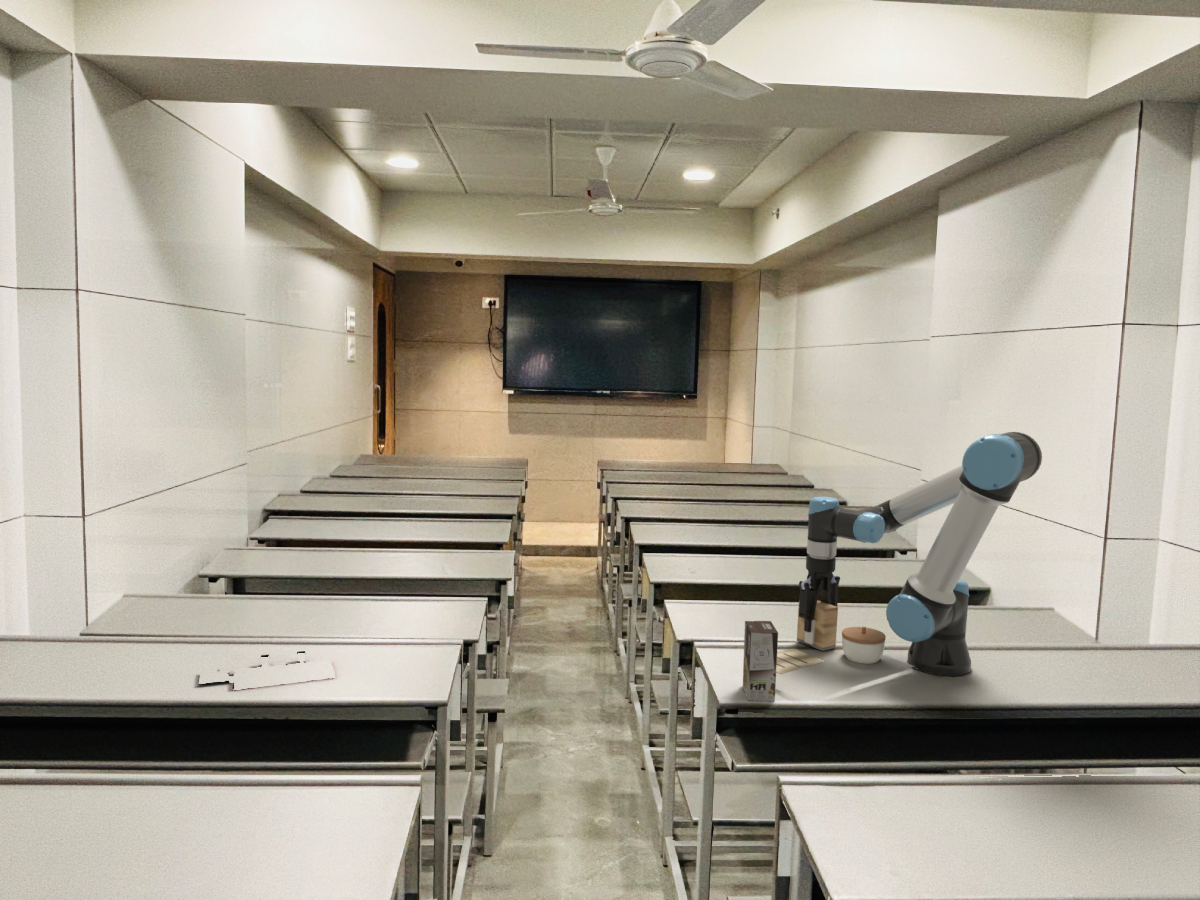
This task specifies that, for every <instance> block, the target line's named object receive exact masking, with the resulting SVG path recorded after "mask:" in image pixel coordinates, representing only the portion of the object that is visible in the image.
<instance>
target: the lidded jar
mask: <svg viewBox="0 0 1200 900" xmlns="http://www.w3.org/2000/svg"><path fill="white" fill-rule="evenodd" d="M886 639H887V637H886V634H885V632H882V631H880V630H878V629H875V628H872V627H866V626H850V627H846V628H844V629H842V630H841V647H842V651H843V653H844V656H845V657H846V658H847V660H849V661H851V662H854V663H859V664H875V663H877V662H879V660H881V658H882V656H883V654H884V651H885V644H886Z"/></svg>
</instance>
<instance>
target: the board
mask: <svg viewBox="0 0 1200 900" xmlns="http://www.w3.org/2000/svg"><path fill="white" fill-rule="evenodd" d="M824 662H826V661H825V660H823V659H821V658H818V657H816V656H813V655H810V654H808V653H806V652H803V651H800V650H799V649H796V648H794V647H793V648H789V649H785V650H782V651H781V650H780V651H777V665H776V674H777V673H778V674H780V675H782V674H786V673H789V672H793V671H797V670H800V669H803V668H807V667H811V666H813V665H817V664H821V663H824Z"/></svg>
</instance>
